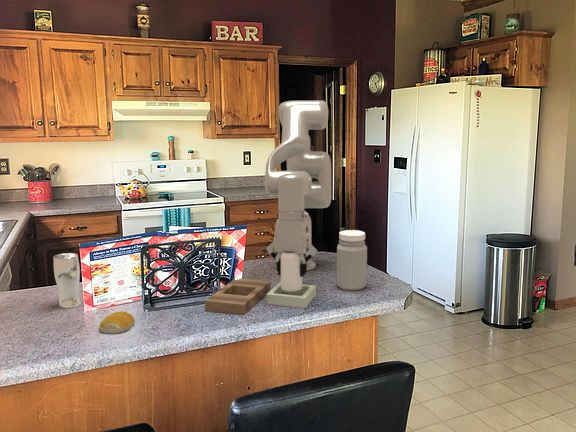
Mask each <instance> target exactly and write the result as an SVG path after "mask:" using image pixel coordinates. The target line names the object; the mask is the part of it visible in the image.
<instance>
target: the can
mask: <svg viewBox="0 0 576 432" xmlns="http://www.w3.org/2000/svg"><path fill="white" fill-rule="evenodd" d="M301 263H302V261H301V259H300V257H299V255H297V254H295V253H287V252H283V253H282V254H281V275H280V282H281V289H282V290H283V291H285V292H298V291H300V290H301V289H302V284H303V277H301V276H300V264H301Z"/></svg>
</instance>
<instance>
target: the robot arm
mask: <svg viewBox="0 0 576 432" xmlns="http://www.w3.org/2000/svg"><path fill="white" fill-rule="evenodd" d="M278 117H279V121H280V124H281V125H280V126H281V127H282V128H281V129H282V131H281V143H279V145H277V147H275V148H274V150H272V152H271V153H270V154H269V156H268V158H267V160H266V163H265V174H264V175H265V176H264V188H265V191H266V192H267V193H268V195H271V196H278V198H277V199H278V206H277V207H278V210H277V211H278V219H277V220H276V222H275V226H274V227H275V228H274V234H273V235H274V238H273V241H272V242H271V243H270V244H269V245H268V246H267V247H266V249H265V250H266V251H267V252H268V253H269V254H270V256H271V257H272V258H273V259H274V261H275V263H276V272H277V275H278V276H281V254H282V253H283V252H287V253H295V254H297V255H299V257H300V259H301V261H302V263H301V264H300V276H301V277H302V278H303V277H305V276H306V275H307V272H308V271H311V270H314V269H315V268H316V267H317V266H316V262H315V261H312V258H313V257H314V256H315V255H316V254H317V253H318V250H317V248H315V246H314V245H313V244H312V219H311V217H310V215H309V212H307V211H306V210H305V209H325V208H326V209H327V208H328V207H330V205H331V201H332V161H331V156H330V155H329V154H328V153H327V152H326V151H312V150H311V137H310V135H309V131H310V130H312V131H313V130H317V131H318V130H324V129H326V127H327V125H328V121H329V107H328V103H327V102H326V101H325V100H287V101H284V102H281V103H280V104H279V106H278ZM285 161H286V170H276V168H277V167H278V166H279V165H280V164H282V163H283V162H285ZM313 179H317V180H318V181H313Z"/></svg>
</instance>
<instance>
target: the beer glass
mask: <svg viewBox="0 0 576 432" xmlns="http://www.w3.org/2000/svg"><path fill="white" fill-rule="evenodd" d="M52 258H53V274H54V279H55V283H56V287H57V290H58V293H59V296H58V297H59V300H58V307H59V308H61V309H70V308H75V307H78V306H81V303H82V300H81V297H80V291H79V289H80V288H79V287H80V277H81V275H80V274H81V269H80V268H81V267H80V261H79V255H78V253H75V252H67V253H66V252H65V253H64V252H63V253H60V254H59V253H58V254H55V255H54V256H53V257H52Z"/></svg>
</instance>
